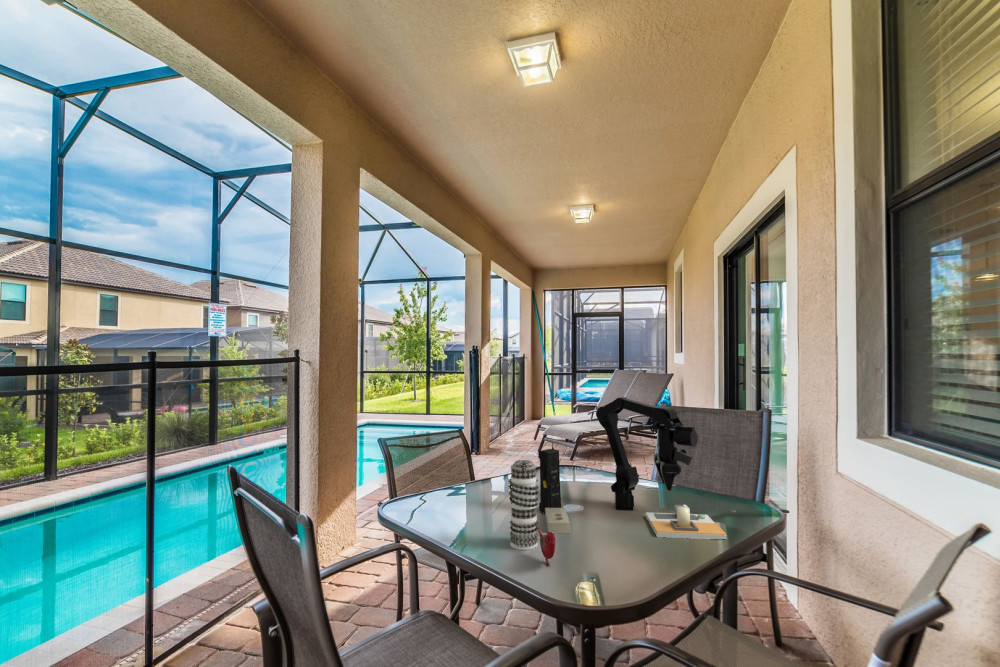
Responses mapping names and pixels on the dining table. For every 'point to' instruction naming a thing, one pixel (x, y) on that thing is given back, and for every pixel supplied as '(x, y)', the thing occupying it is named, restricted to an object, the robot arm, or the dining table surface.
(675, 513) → the block
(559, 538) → the dining table surface
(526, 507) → the decorative candle
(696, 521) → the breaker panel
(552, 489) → the portable radio
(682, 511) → the lockout cap
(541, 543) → the decorative bird figurine
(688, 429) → the robot arm
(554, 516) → the electrical outlet
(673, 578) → the dining table surface
